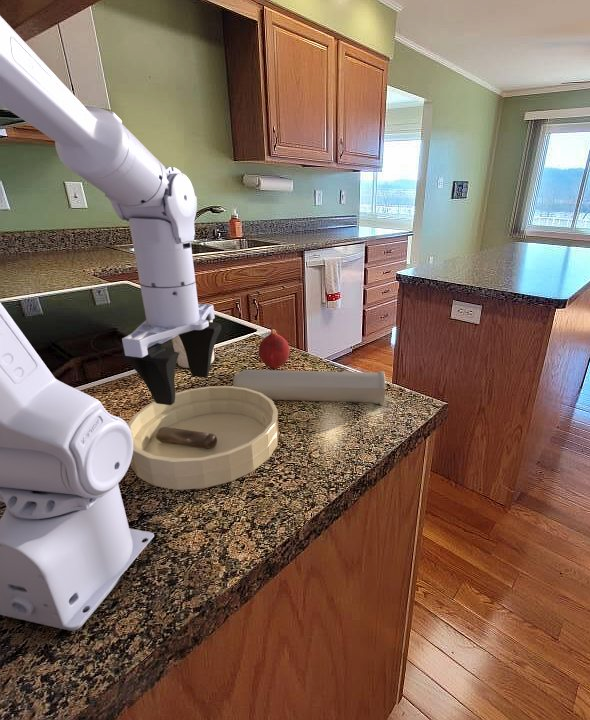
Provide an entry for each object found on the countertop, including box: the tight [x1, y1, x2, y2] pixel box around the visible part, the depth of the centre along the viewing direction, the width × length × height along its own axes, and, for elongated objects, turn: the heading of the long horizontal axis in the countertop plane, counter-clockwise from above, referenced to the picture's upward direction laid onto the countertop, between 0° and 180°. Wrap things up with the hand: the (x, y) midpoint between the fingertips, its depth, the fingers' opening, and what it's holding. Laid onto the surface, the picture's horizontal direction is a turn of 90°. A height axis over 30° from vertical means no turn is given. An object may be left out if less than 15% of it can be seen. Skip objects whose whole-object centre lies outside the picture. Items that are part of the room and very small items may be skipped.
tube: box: [232, 369, 386, 406], centre depth 66 cm, size 5×5×25 cm
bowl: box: [127, 385, 280, 491], centre depth 52 cm, size 18×18×4 cm
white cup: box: [170, 319, 215, 369], centre depth 76 cm, size 8×8×10 cm
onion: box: [258, 328, 291, 370], centre depth 76 cm, size 6×6×8 cm
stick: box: [156, 427, 217, 449], centre depth 52 cm, size 8×2×2 cm
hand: (184, 388), depth 50 cm, fingers open, 7 cm apart
